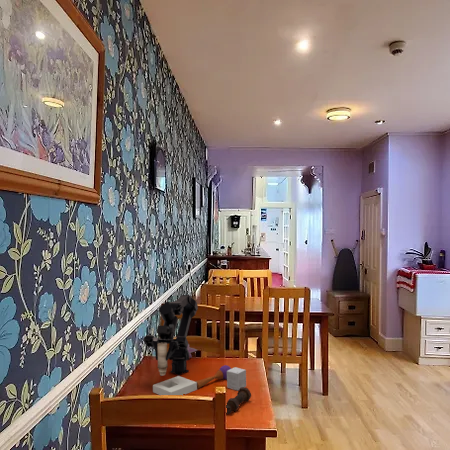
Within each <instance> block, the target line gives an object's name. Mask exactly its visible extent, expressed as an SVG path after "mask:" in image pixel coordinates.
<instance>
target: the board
mask: <svg viewBox="0 0 450 450" xmlns="http://www.w3.org/2000/svg"><path fill="white" fill-rule="evenodd" d="M197 390H198V389H197V382H195V381H194V380H192V379H191V380H190V379H188V378H186V377H183V376H180V375H177V376H175V377H172V378H169V379H166V380H164V381H160V382H157V383H155V384H153V385H152V393H153V394H157V395H159V396H161V395H182V396H184V395H183V394H185V395H187V394H189V393H193V392H195V391H197Z"/></svg>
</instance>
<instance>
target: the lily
mask: <svg viewBox="0 0 450 450" xmlns="http://www.w3.org/2000/svg"><path fill="white" fill-rule="evenodd" d="M187 349H188V352H189V358H192V354H191V353H194V352H198V349H197V348H194V347H190V343H188V347H187Z"/></svg>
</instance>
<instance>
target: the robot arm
mask: <svg viewBox="0 0 450 450" xmlns="http://www.w3.org/2000/svg"><path fill="white" fill-rule="evenodd" d="M198 309H199V306H198V302H197V300H195V299H194V298H193V297H192V296H191V295H190V294H181V295H180V296H179V297H178V298H177V299H176V300H175V301H165V302H164V303H163V304H162V305H160V307H158V312H159V315H160V317H161V319H162V320H163V321H164V322H163V325H157V327H156V334H158V335H157V336H158V337H159V338H158V337H155V335H152V334H151V335H150V334H146V335H145V336H144V337H143V342H144V344H145V345H146V347H147V348H154V353H155V354H154V355H155V360H156V361H158V347H157V344H158V343H161V342H165V343H167V345H168V348H167V355H166V361H167V362H168V360H169V361H171V370H170V371H169V372H170V373H172V374H175V375H177V376H180V375H182V374H186V373H188V372H189V370H188V369H187V361H189V360H190V357H189V352H188V349H187V347H188V344H189V341H188V337H187V335H188V331H189V329H190V324H191V321H192V318H193V317H194V316H196V314H197V312H198ZM181 315H182V316H181ZM178 316H181V319H180V322H178V321H179V318H178ZM178 323H179V327H178V330H177V334H176V329H177V326H178V325H177V324H178ZM175 335H176V337H175Z"/></svg>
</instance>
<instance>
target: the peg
mask: <svg viewBox="0 0 450 450" xmlns="http://www.w3.org/2000/svg"><path fill="white" fill-rule="evenodd" d="M157 347H158V360H157V369H158V372H159V375H160V376H161V377H162V376H166V373H167V369H168V360H167V361H166V355H167V352H168V344H167V343H165V342H161V343H158V344H157Z"/></svg>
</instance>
